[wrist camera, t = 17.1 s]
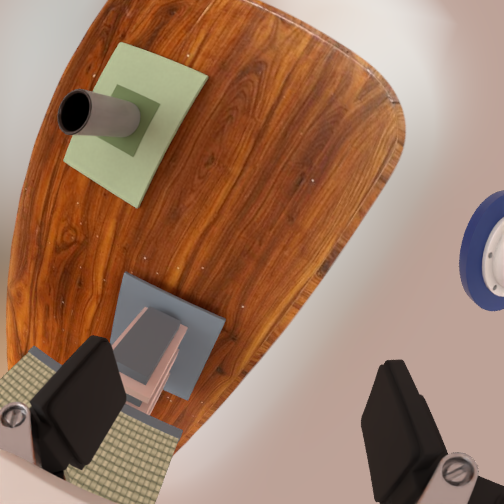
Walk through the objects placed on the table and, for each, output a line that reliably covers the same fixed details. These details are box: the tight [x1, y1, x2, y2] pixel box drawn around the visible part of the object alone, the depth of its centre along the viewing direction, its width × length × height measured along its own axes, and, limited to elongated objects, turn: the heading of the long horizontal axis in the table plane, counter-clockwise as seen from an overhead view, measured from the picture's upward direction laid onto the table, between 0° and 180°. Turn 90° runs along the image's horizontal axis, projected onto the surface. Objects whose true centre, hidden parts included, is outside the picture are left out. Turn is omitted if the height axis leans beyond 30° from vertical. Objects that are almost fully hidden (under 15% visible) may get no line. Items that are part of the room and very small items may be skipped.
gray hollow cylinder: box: [58, 89, 140, 137], centre depth 26 cm, size 4×4×10 cm
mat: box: [63, 42, 209, 208], centre depth 32 cm, size 18×14×1 cm
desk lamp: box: [0, 272, 226, 504], centre depth 25 cm, size 18×14×33 cm
